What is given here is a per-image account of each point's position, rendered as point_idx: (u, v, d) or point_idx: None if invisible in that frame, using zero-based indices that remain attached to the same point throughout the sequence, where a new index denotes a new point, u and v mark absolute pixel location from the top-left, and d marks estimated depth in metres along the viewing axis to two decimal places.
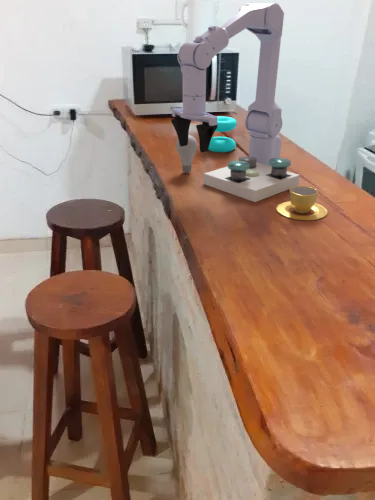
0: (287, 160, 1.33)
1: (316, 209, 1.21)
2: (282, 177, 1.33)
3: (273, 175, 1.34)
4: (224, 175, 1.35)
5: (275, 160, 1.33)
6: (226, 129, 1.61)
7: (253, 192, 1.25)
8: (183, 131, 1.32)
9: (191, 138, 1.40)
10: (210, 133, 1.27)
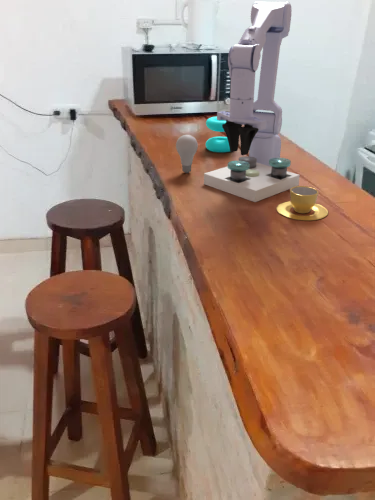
0: (287, 160, 1.33)
1: (316, 209, 1.21)
2: (282, 177, 1.33)
3: (273, 175, 1.34)
4: (224, 175, 1.35)
5: (275, 160, 1.33)
6: None
7: (253, 192, 1.25)
8: (234, 136, 1.29)
9: (191, 138, 1.40)
10: (251, 135, 1.26)
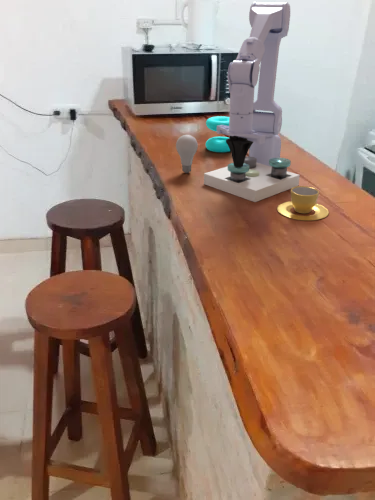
0: (287, 160, 1.33)
1: (317, 209, 1.21)
2: (282, 177, 1.33)
3: (273, 175, 1.34)
4: (224, 175, 1.35)
5: (275, 160, 1.33)
6: None
7: (253, 192, 1.25)
8: None
9: (191, 138, 1.40)
10: (246, 148, 1.29)
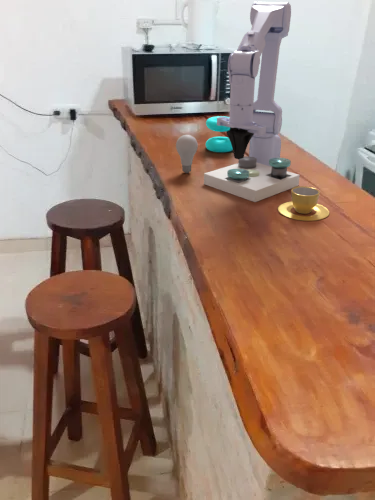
0: (287, 160, 1.33)
1: (318, 210, 1.21)
2: (282, 177, 1.33)
3: (273, 175, 1.34)
4: (224, 175, 1.35)
5: (275, 160, 1.33)
6: (226, 129, 1.61)
7: (253, 192, 1.25)
8: None
9: (191, 138, 1.40)
10: (246, 140, 1.28)
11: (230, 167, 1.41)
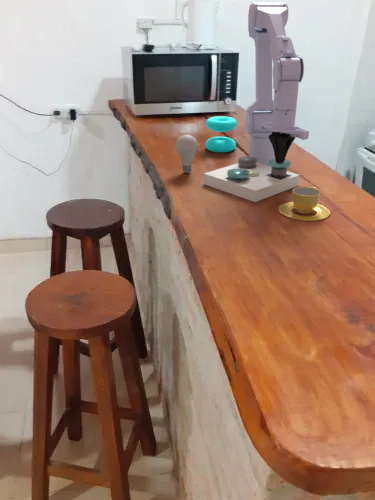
0: (287, 161, 1.34)
1: (319, 210, 1.21)
2: (282, 178, 1.33)
3: (273, 176, 1.34)
4: (224, 175, 1.35)
5: (275, 161, 1.33)
6: (226, 129, 1.61)
7: (253, 192, 1.25)
8: None
9: (191, 138, 1.40)
10: (288, 144, 1.31)
11: (230, 167, 1.41)
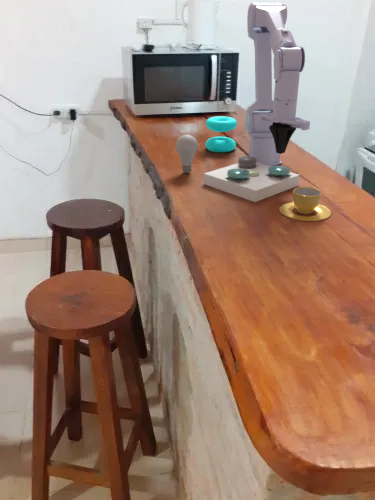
0: (286, 168, 1.34)
1: (320, 210, 1.21)
2: None
3: None
4: (224, 175, 1.35)
5: (274, 168, 1.34)
6: (226, 129, 1.61)
7: (253, 192, 1.25)
8: None
9: (191, 138, 1.40)
10: (289, 135, 1.30)
11: (230, 167, 1.41)
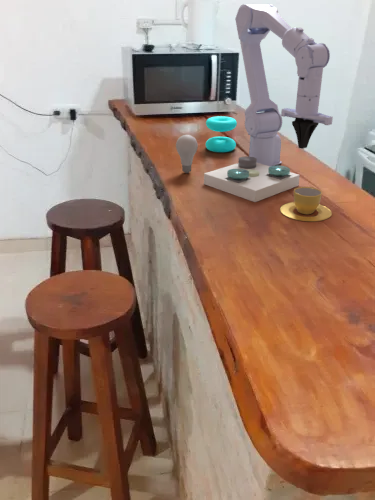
0: (286, 168, 1.34)
1: (320, 210, 1.21)
2: None
3: None
4: (224, 175, 1.35)
5: (274, 168, 1.34)
6: (226, 129, 1.61)
7: (253, 192, 1.25)
8: None
9: (191, 138, 1.40)
10: (311, 130, 1.33)
11: (230, 167, 1.41)
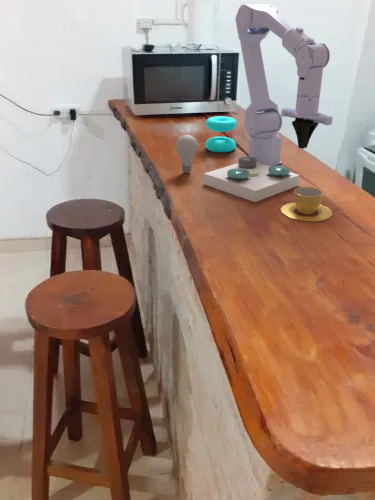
0: (286, 168, 1.34)
1: (321, 210, 1.21)
2: None
3: None
4: (224, 175, 1.35)
5: (274, 168, 1.34)
6: (226, 129, 1.61)
7: (253, 192, 1.25)
8: None
9: (191, 138, 1.40)
10: (311, 130, 1.33)
11: (230, 167, 1.41)
